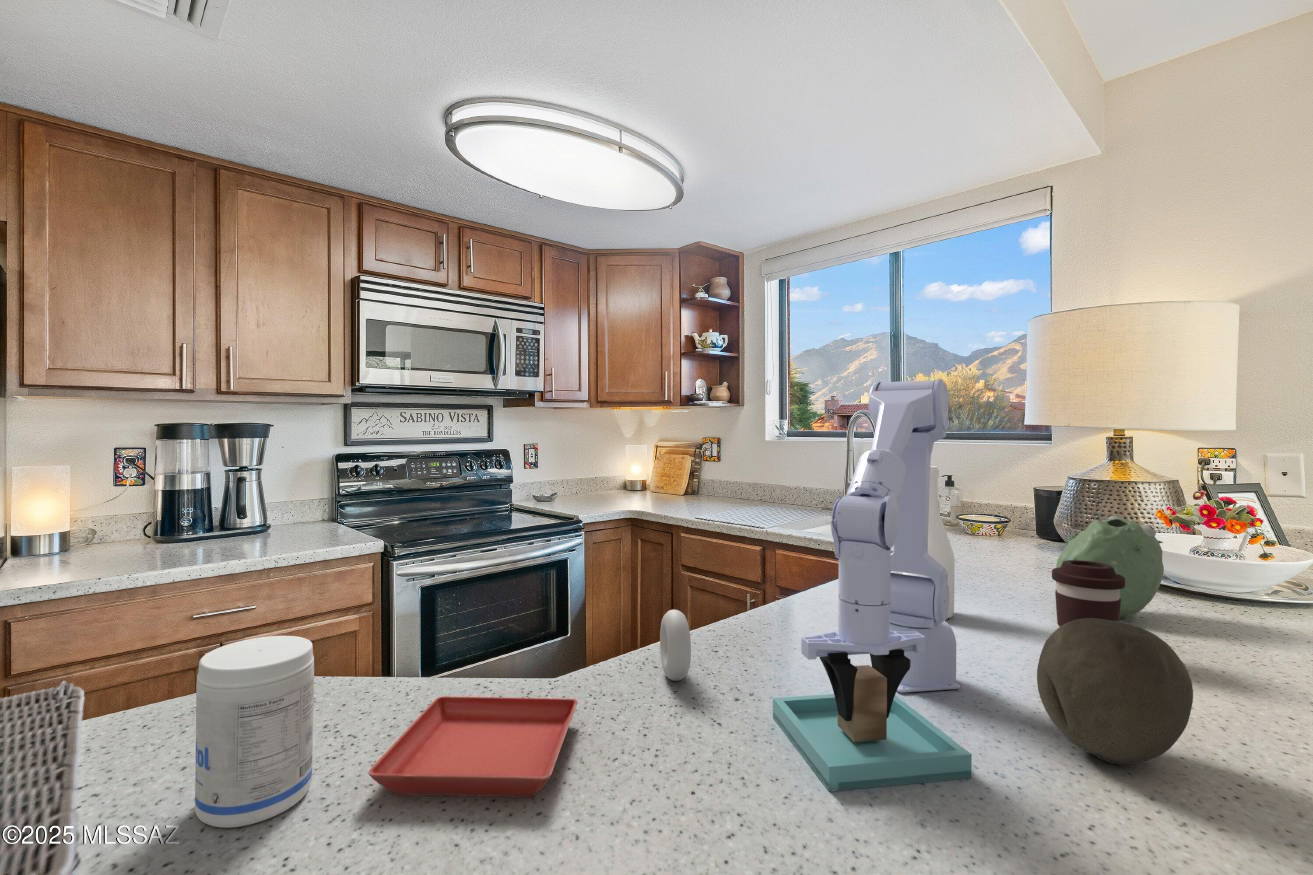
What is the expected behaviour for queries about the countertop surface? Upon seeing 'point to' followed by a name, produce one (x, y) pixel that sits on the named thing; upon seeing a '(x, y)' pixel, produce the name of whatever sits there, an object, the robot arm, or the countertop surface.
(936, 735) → the tray
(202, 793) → the supplement tub
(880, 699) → the block
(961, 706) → the countertop surface
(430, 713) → the plant saucer
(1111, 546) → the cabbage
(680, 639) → the donut
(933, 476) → the wine bottle
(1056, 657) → the grey river stone
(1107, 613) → the coffee cup
